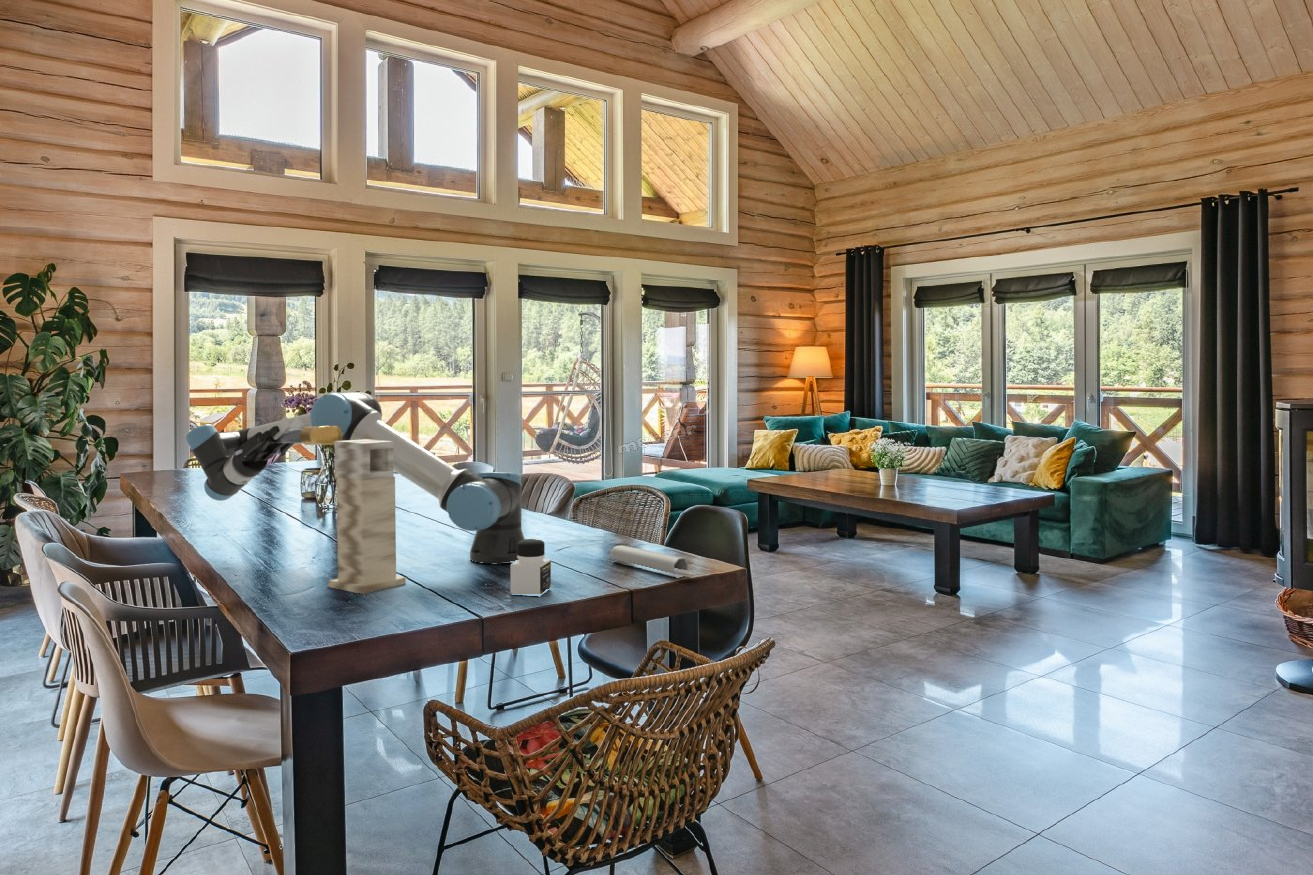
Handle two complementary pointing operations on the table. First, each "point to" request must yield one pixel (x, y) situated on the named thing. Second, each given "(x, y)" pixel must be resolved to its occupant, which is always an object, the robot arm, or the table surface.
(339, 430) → the plug rod
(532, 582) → the medicine bottle
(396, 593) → the table surface
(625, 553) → the tube
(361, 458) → the bore stand
